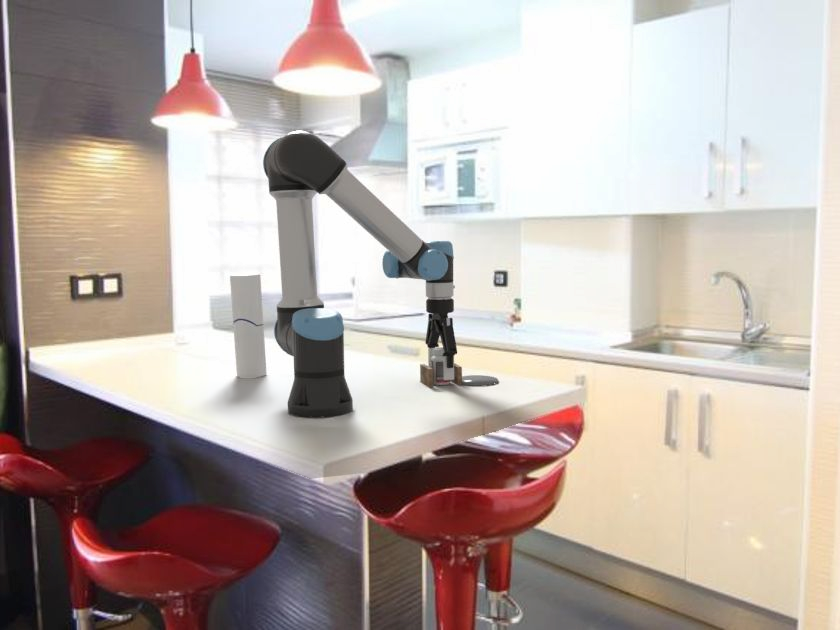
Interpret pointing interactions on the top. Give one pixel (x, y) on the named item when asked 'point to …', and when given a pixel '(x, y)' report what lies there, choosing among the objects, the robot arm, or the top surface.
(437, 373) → the pill bottle
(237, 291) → the container
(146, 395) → the top surface
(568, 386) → the top surface
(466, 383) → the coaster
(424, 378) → the cradle
